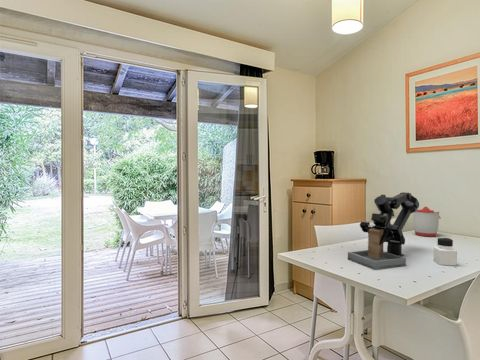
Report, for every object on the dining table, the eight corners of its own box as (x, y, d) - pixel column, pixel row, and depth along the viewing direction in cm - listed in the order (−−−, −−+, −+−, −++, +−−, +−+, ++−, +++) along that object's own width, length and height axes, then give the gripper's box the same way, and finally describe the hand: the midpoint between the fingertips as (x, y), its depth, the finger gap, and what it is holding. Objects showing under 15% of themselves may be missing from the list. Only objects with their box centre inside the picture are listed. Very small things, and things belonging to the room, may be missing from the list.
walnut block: (372, 254, 151) (373, 228, 150) (382, 256, 147) (383, 229, 147) (367, 256, 148) (368, 229, 147) (378, 258, 144) (379, 231, 143)
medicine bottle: (456, 265, 142) (457, 240, 142) (439, 265, 143) (440, 239, 143) (449, 261, 149) (449, 237, 148) (433, 260, 150) (433, 236, 150)
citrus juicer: (446, 237, 204) (447, 207, 204) (420, 237, 205) (421, 207, 204) (432, 233, 220) (432, 205, 219) (408, 233, 220) (408, 205, 220)
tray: (376, 255, 159) (376, 249, 159) (405, 265, 142) (405, 258, 142) (347, 259, 153) (347, 252, 153) (374, 269, 136) (374, 261, 136)
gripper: (361, 205, 156) (350, 230, 149) (400, 209, 142) (389, 236, 135) (368, 219, 162) (358, 243, 155) (406, 223, 148) (396, 250, 141)
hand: (374, 243), depth 146 cm, fingers closed on walnut block, 5 cm apart
